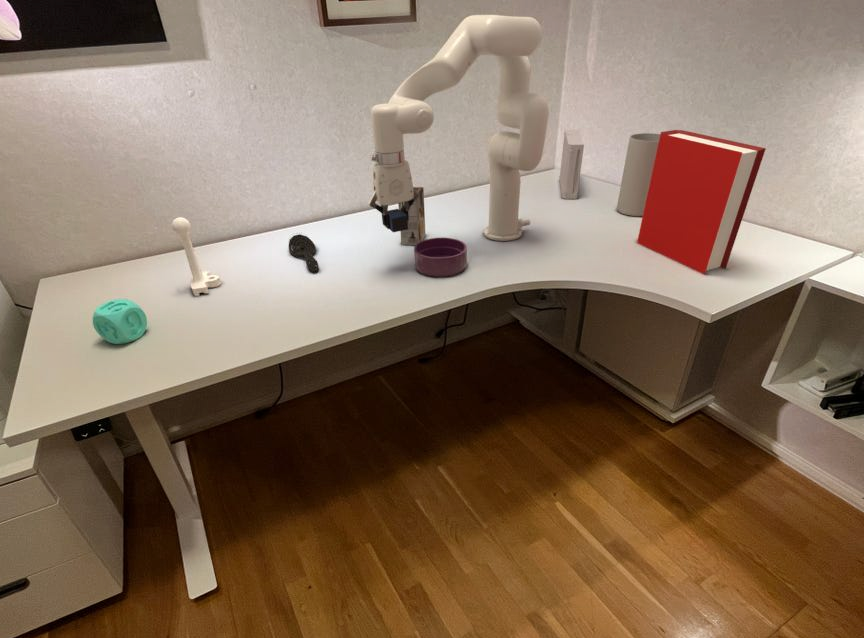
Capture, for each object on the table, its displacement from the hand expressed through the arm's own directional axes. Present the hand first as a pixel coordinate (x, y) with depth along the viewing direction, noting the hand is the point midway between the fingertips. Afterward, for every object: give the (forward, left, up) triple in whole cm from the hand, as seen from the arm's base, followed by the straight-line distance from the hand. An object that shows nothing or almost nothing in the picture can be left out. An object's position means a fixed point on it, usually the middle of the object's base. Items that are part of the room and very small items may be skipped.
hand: (396, 224), depth 140 cm
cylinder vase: (-93, -4, -13) cm, 94 cm away
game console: (-89, -38, -13) cm, 98 cm away
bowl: (-11, +5, -13) cm, 18 cm away
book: (-77, +31, -13) cm, 84 cm away
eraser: (0, 0, -1) cm, 1 cm away
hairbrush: (+23, -21, -13) cm, 34 cm away
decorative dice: (+73, +4, -13) cm, 74 cm away
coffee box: (-12, -18, -13) cm, 26 cm away
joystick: (+53, -15, -13) cm, 56 cm away
